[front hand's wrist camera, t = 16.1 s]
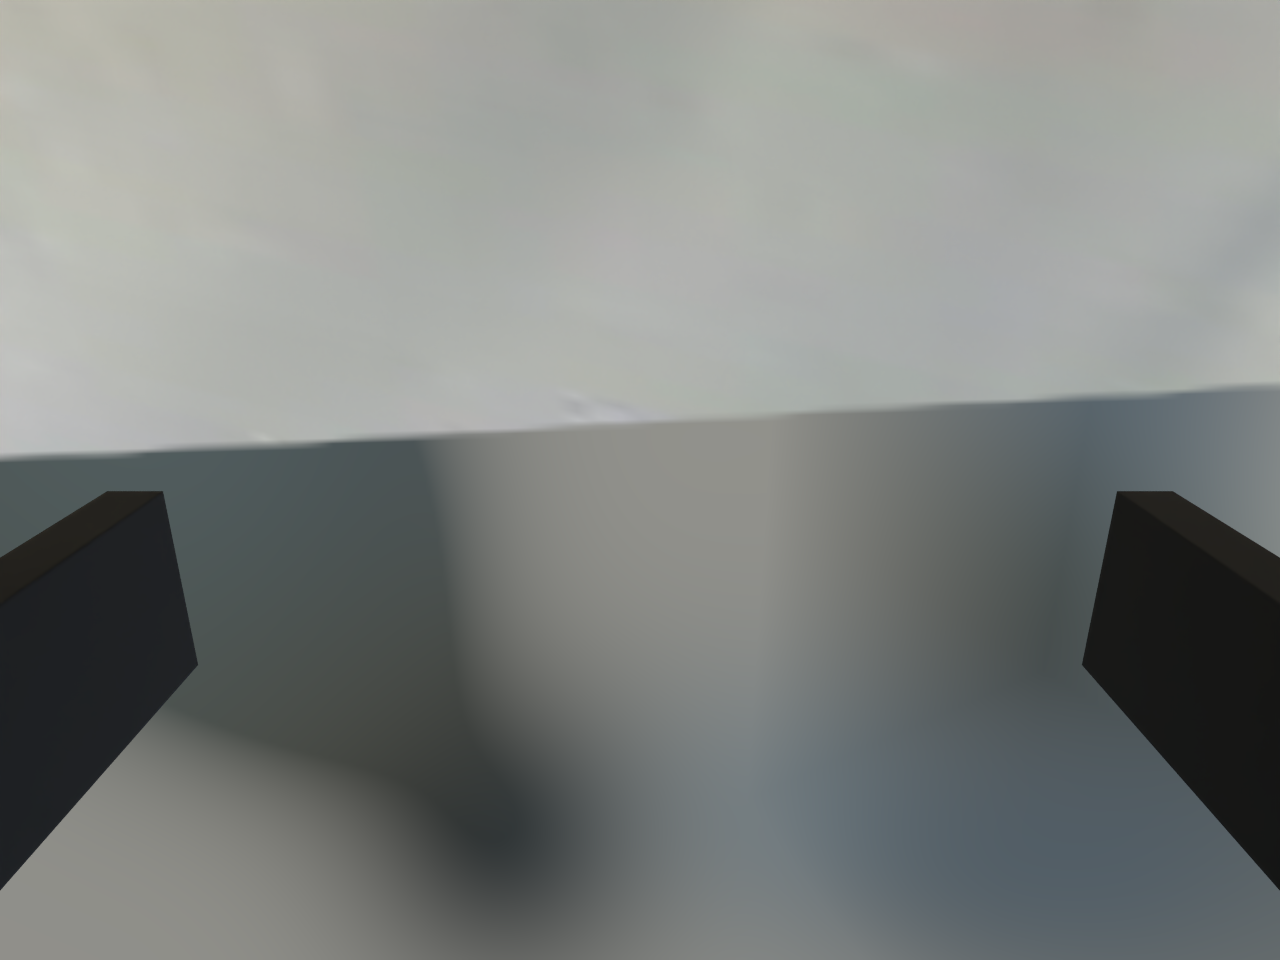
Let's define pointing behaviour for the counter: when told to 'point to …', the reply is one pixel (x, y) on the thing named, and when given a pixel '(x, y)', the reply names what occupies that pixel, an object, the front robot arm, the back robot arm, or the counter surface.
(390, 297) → the counter surface
